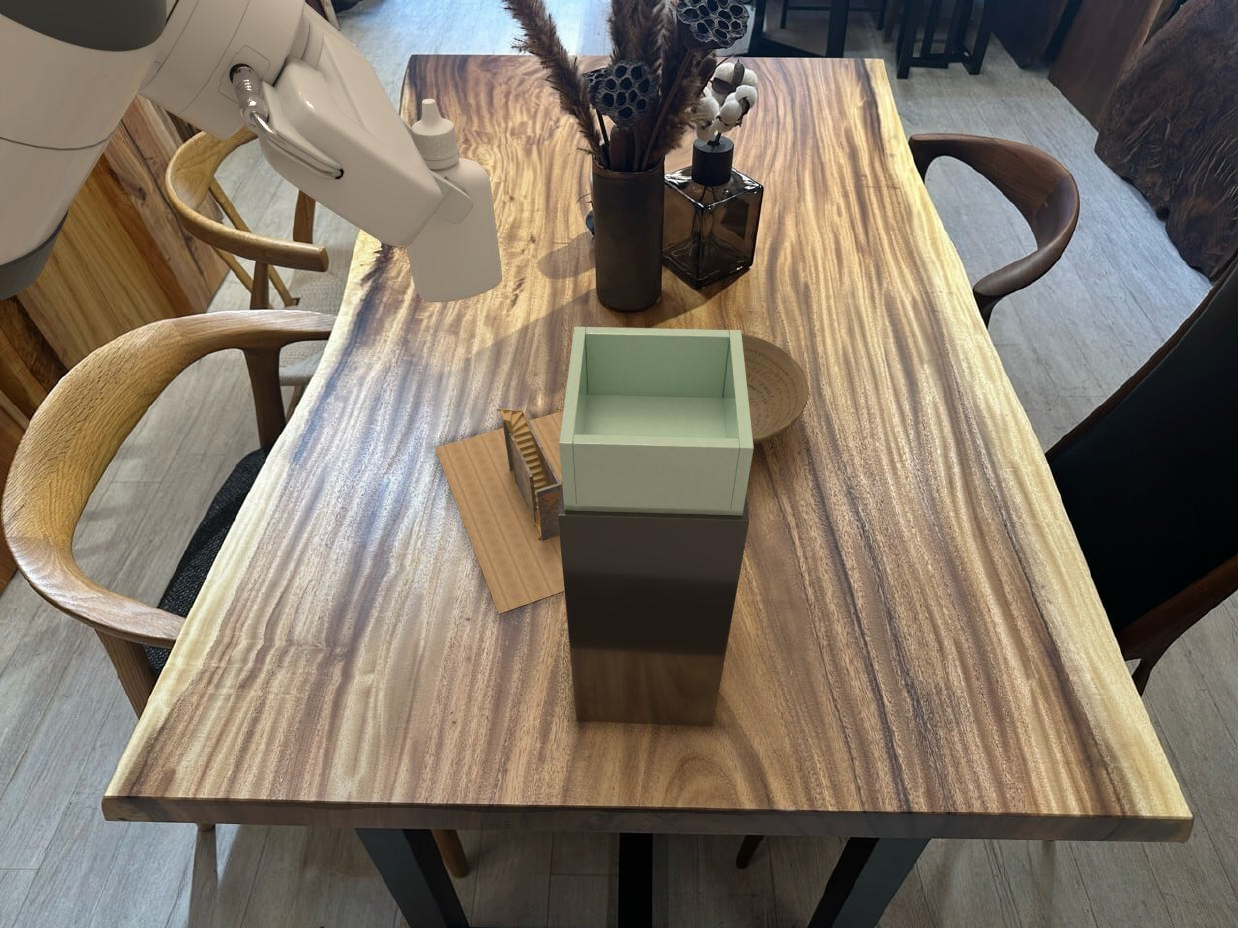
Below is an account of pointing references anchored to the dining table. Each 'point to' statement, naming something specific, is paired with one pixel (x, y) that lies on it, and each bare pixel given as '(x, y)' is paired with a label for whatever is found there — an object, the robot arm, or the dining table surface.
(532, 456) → the ruin model on sheet
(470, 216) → the eye dropper bottle
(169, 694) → the dining table surface
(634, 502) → the square pedestal with tray
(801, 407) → the bowl
